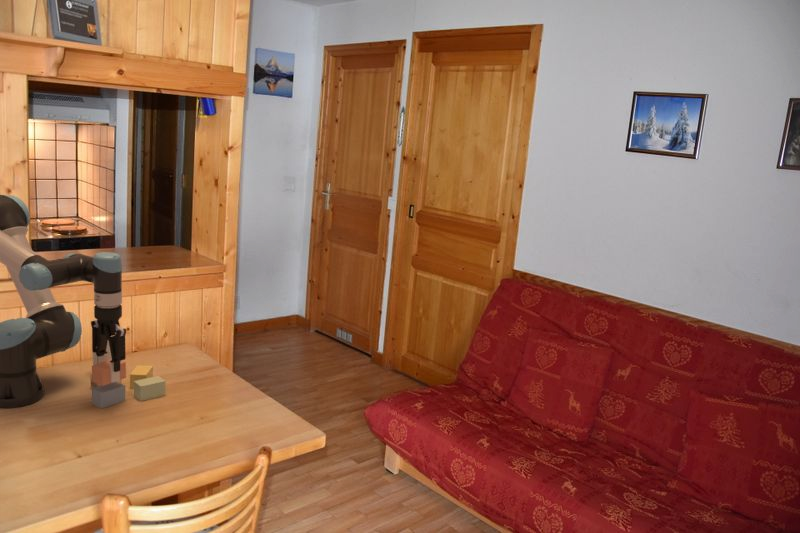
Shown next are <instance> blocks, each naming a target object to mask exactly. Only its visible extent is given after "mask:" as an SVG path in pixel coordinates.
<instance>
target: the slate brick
mask: <svg viewBox="0 0 800 533" xmlns="http://www.w3.org/2000/svg"><path fill="white" fill-rule="evenodd" d="M125 401H126V385H125V384H122V383H119V382H117V381H115V382H112V383H109V384H107V385H104V386H102V385H101V386H98V387H95V388H91V404H93V405H94V406H96V407H98V408H99V409H103V408H106V407H109V406H112V405H116V404H119V403H121V402H125Z"/></svg>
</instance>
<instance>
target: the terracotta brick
mask: <svg viewBox="0 0 800 533" xmlns="http://www.w3.org/2000/svg"><path fill="white" fill-rule="evenodd" d="M110 361H111V360H109V361H106V362H102V363H99V364H96V365H93V364H92V365H91V373H92V382H95V383H97V384H100V385H102V386H104V385H107V384H109V383H112V382H110ZM126 366H127V364H126V361H124V360H122V361H120V380H121V379H122V380H124V379H126V378H127V367H126Z"/></svg>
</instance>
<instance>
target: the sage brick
mask: <svg viewBox="0 0 800 533" xmlns="http://www.w3.org/2000/svg"><path fill="white" fill-rule="evenodd" d="M133 396H134V397H135V398H136V399H137V400H139V402H142V401H146V400H151V399H155V398H159V397H163V396H166V380H165V379H163V378H162V377H161V376H159V375H156V376H153V377H151V378H146V379H142V380H137V381H134V389H133Z"/></svg>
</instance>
